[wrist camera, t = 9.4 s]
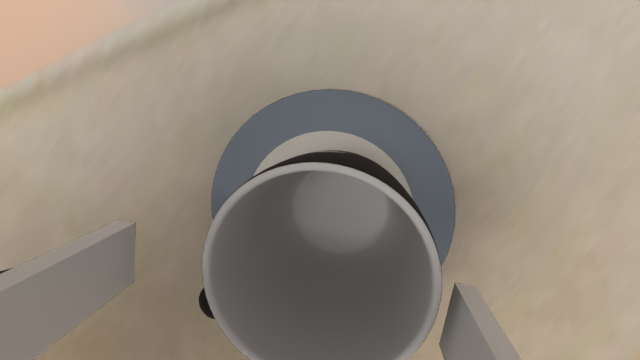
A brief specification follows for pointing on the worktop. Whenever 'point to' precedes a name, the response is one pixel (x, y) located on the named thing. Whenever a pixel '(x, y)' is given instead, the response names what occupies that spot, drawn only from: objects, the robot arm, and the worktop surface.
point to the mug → (322, 263)
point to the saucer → (343, 149)
